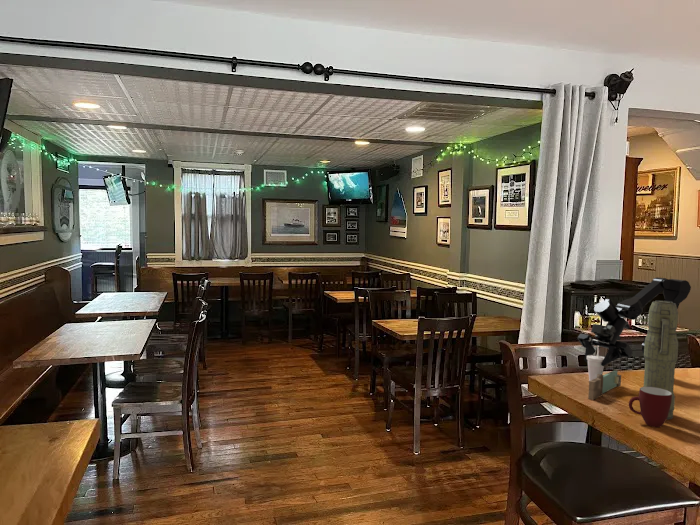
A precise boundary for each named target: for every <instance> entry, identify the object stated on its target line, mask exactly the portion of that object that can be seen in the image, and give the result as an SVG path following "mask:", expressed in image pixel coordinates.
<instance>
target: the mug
mask: <svg viewBox="0 0 700 525" xmlns="http://www.w3.org/2000/svg"><path fill="white" fill-rule="evenodd" d="M636 401H638V402H639V409H640V411H638V410H637V409H634V407H633V404H634V402H636ZM671 401H672V393H671V392H669V391H667V390H664V389H660V388H655V387H643V386H641V387H639V393H638V396H633V397H631V398H630V399H629V401H628V408H629V410H630V411H631V412H632V413H634V414H636V415H640V416H641V417H642V420H643V422H644V423H645V424H646V425H647V426H650V427H652V428H653V427H654V428H660V427H662V426H663V425H664V424H665V422H666V421H667V420H668V419H667V417H668V413H669V410H670V406H671Z"/></svg>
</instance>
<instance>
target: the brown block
mask: <svg viewBox="0 0 700 525" xmlns="http://www.w3.org/2000/svg"><path fill="white" fill-rule="evenodd" d="M603 375H604V374H602V375H601V374H597V378H595V379H593V380H591V381H589V380H588V400H591V401H594V400H596V399H598V398H599V397H602V396H603V394H602V390H603ZM617 377H619V380H618V384H617V386H616V387H617V388H619V387H622V386H621V385H622V384H621V383H622V374H618V373H617ZM616 387H615V388H616Z"/></svg>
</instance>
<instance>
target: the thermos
mask: <svg viewBox="0 0 700 525" xmlns="http://www.w3.org/2000/svg"><path fill="white" fill-rule="evenodd" d="M678 318H679V312H678V309H677V307H676V304H675V303H673V302H671V301H665V300H659V299H658V300H655V301H652V302H651V305H650V306H649V310H648V318H647V320H648V321H647V326H648V329H647V334H646V335H645V336H646V338H645V344H644V356H643V358H644V357H645V359H644V373H643V374H644V375H643V376H644V377H643V386H642V387H655V388H660V389H664V390H667V391H669V392H671V393H672V401H671V406H670V410H669V413H668V417H667V419H666V420H672V419H674V410H675V404H676V403H675V402H676V396H675V393H674V387H675V386H674V385H675V373H676V372H675V371H676V370H675V369H676V363H677V361H678V354H679V340H678V338H677V337H678V336H677V334H678V333H677V329H678Z"/></svg>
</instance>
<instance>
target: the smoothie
mask: <svg viewBox="0 0 700 525" xmlns="http://www.w3.org/2000/svg"><path fill="white" fill-rule="evenodd" d="M596 350H597V351H596V352H597V353H596V354H593V355H588V356H587V358H586V359H587V360H588V361H587V369H588V370H587V371H588V382H589V381H591V380H593V379H595V378H597V374H601V375H604V374H603V373H604V368H605V365H604V366H602V365H601V363H602V361H603V359H604V358H605V356H604V355H603V356H602V355H599V354H600V346H597V349H596Z"/></svg>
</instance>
